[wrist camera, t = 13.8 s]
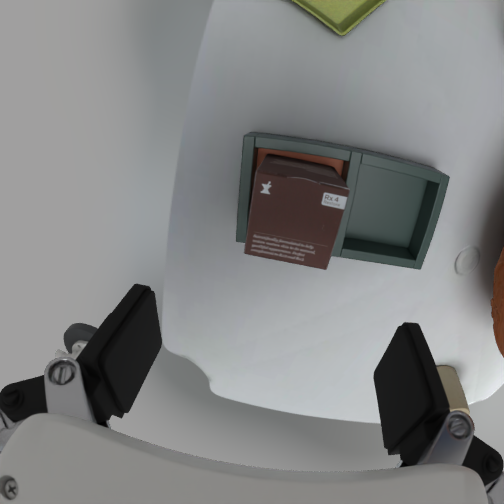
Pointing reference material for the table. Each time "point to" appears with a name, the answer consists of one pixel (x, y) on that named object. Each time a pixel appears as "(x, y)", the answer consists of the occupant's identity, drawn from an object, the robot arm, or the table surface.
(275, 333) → the table surface
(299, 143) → the tray
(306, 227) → the box
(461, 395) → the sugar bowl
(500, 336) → the bowl
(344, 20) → the saucer
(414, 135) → the table surface
